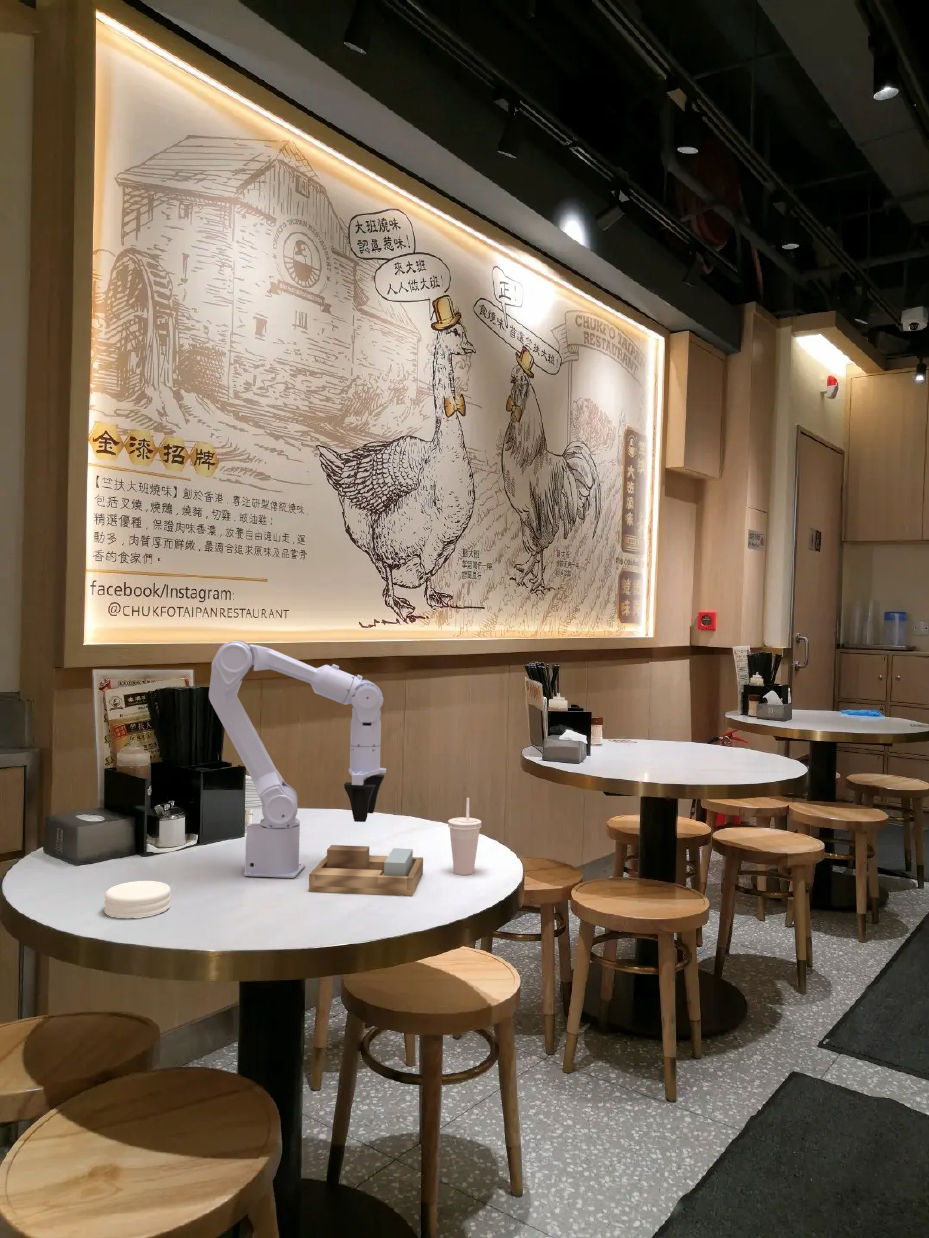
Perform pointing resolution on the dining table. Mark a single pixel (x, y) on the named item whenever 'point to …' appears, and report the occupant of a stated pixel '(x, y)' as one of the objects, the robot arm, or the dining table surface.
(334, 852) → the brown wooden block
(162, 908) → the coaster
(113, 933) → the dining table surface
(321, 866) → the jig
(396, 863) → the grey square post
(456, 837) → the smoothie
